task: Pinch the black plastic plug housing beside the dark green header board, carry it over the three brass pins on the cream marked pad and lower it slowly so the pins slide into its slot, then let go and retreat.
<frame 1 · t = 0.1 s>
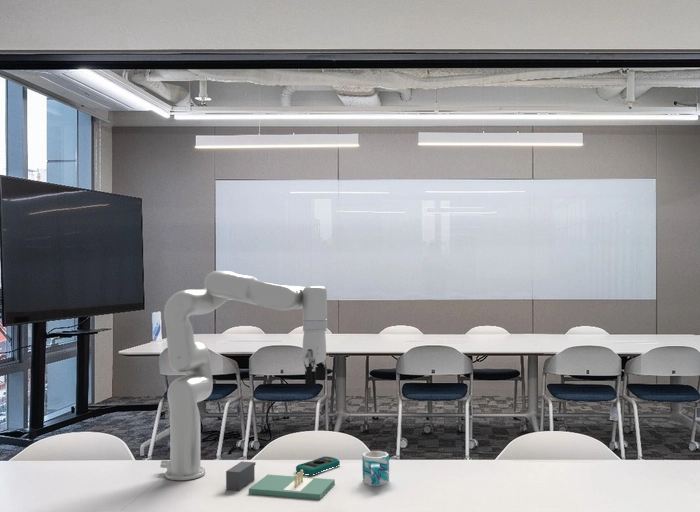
hand: (315, 382, 189), 31 cm above the table, fingers open, 9 cm apart
digital multimeter: (318, 471, 204), on the table
mug: (375, 484, 189), on the table
header board: (292, 489, 185), on the table
plug housing: (240, 484, 189), on the table
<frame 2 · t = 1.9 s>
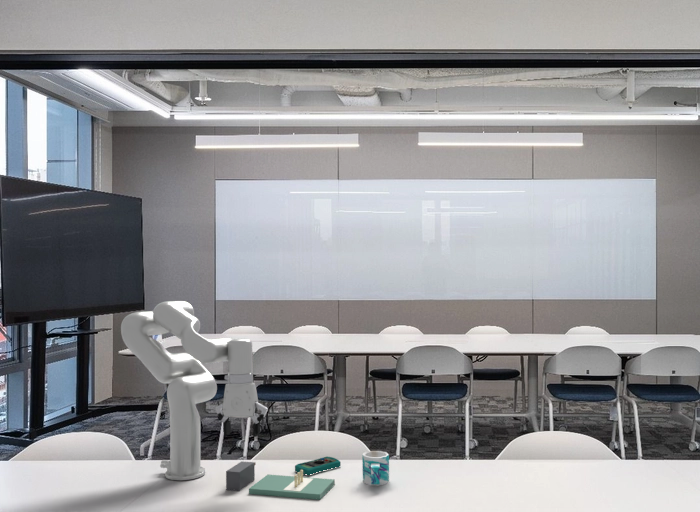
hand: (241, 435, 190), 15 cm above the table, fingers open, 9 cm apart
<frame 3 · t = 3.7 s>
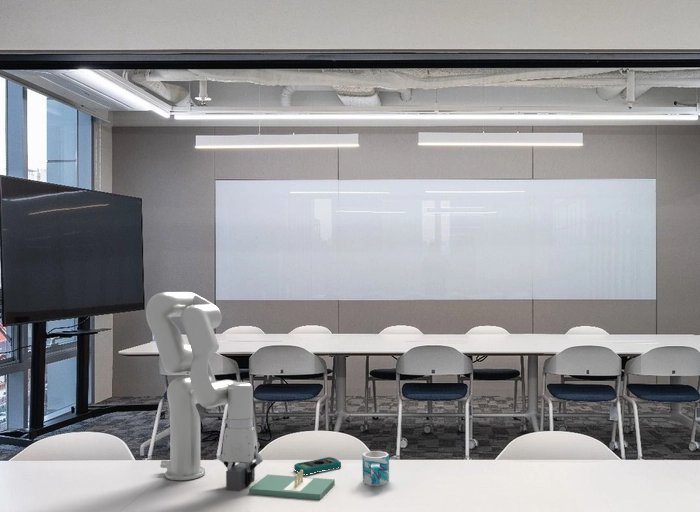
hand: (240, 482, 189), 1 cm above the table, fingers closed on plug housing, 4 cm apart
plug housing: (240, 484, 189), on the table, touching gripper
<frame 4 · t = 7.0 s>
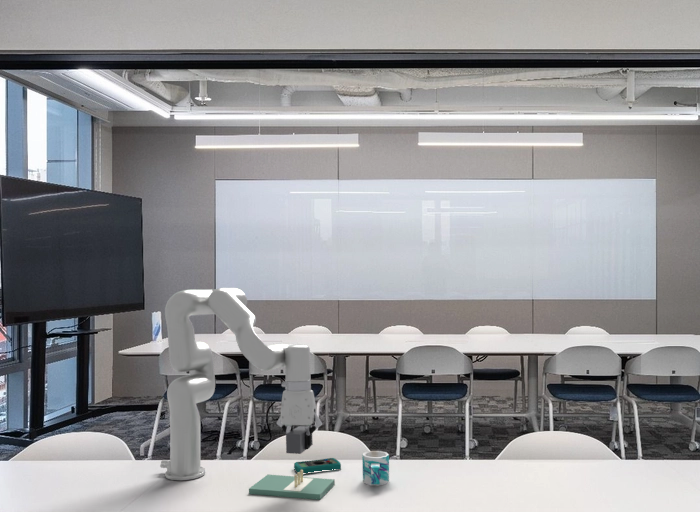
hand: (299, 447, 184), 12 cm above the table, fingers closed on plug housing, 4 cm apart
plug housing: (299, 448, 184), point 12 cm above the table, touching gripper
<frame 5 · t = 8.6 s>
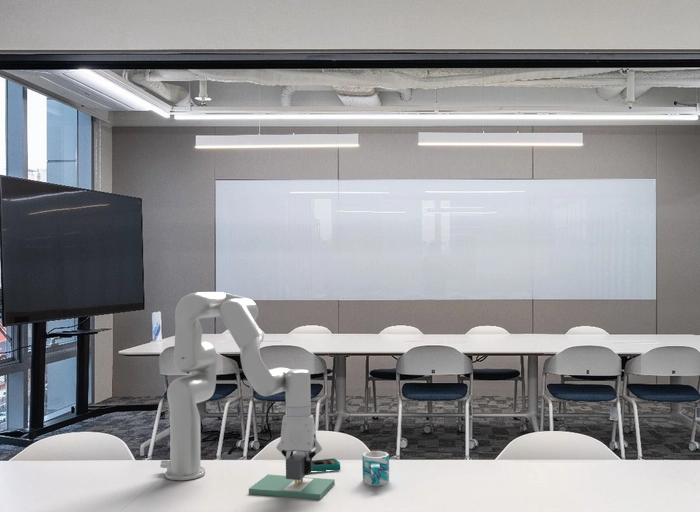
hand: (299, 472, 184), 5 cm above the table, fingers closed on plug housing, 4 cm apart
plug housing: (299, 474, 184), point 5 cm above the table, touching gripper
when the fingers open (2 cm above the table, at t = 10.2 s): plug housing stays where it is, resting on header board.
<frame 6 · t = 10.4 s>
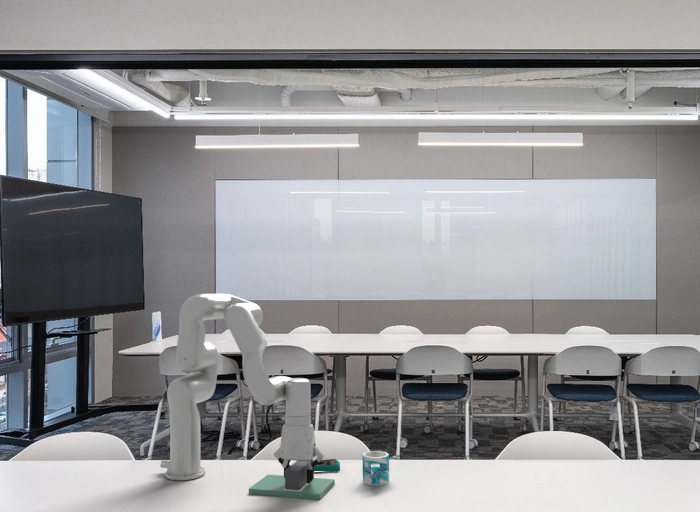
hand: (298, 480, 184), 3 cm above the table, fingers open, 6 cm apart
plug housing: (298, 484, 184), point 2 cm above the table, touching header board
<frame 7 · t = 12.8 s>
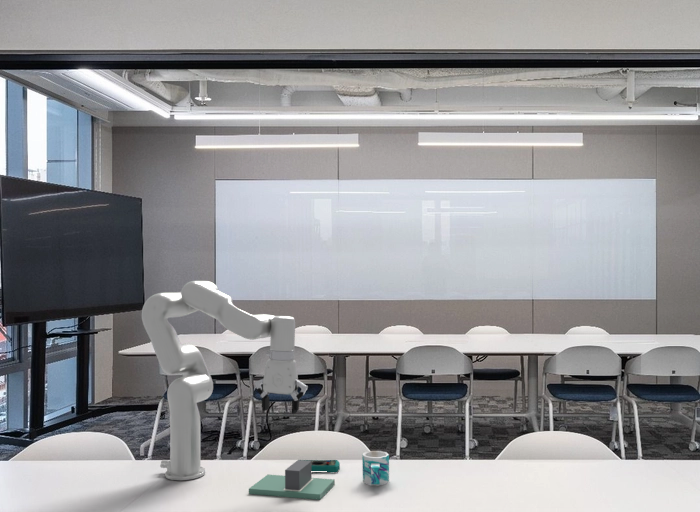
hand: (280, 411, 191), 22 cm above the table, fingers open, 9 cm apart
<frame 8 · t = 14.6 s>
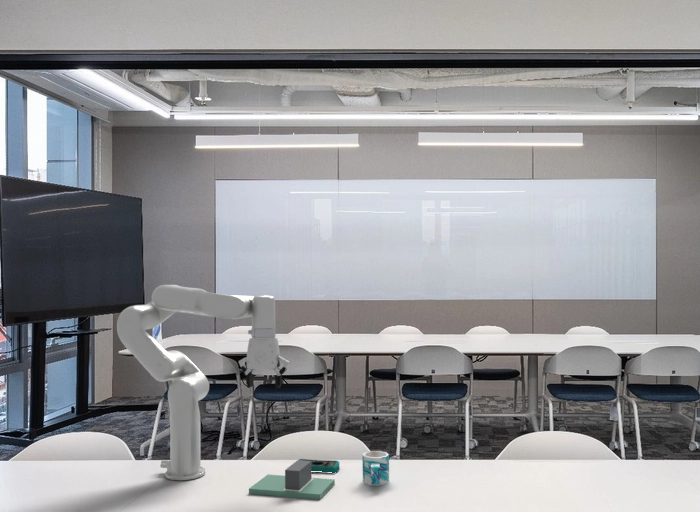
hand: (264, 387, 198), 28 cm above the table, fingers open, 9 cm apart
at the end: plug housing 0.1 cm from the target spot on the header board, point 1.6 cm above the header board's base; plug housing tilted 0°; the gripper is holding nothing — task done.
